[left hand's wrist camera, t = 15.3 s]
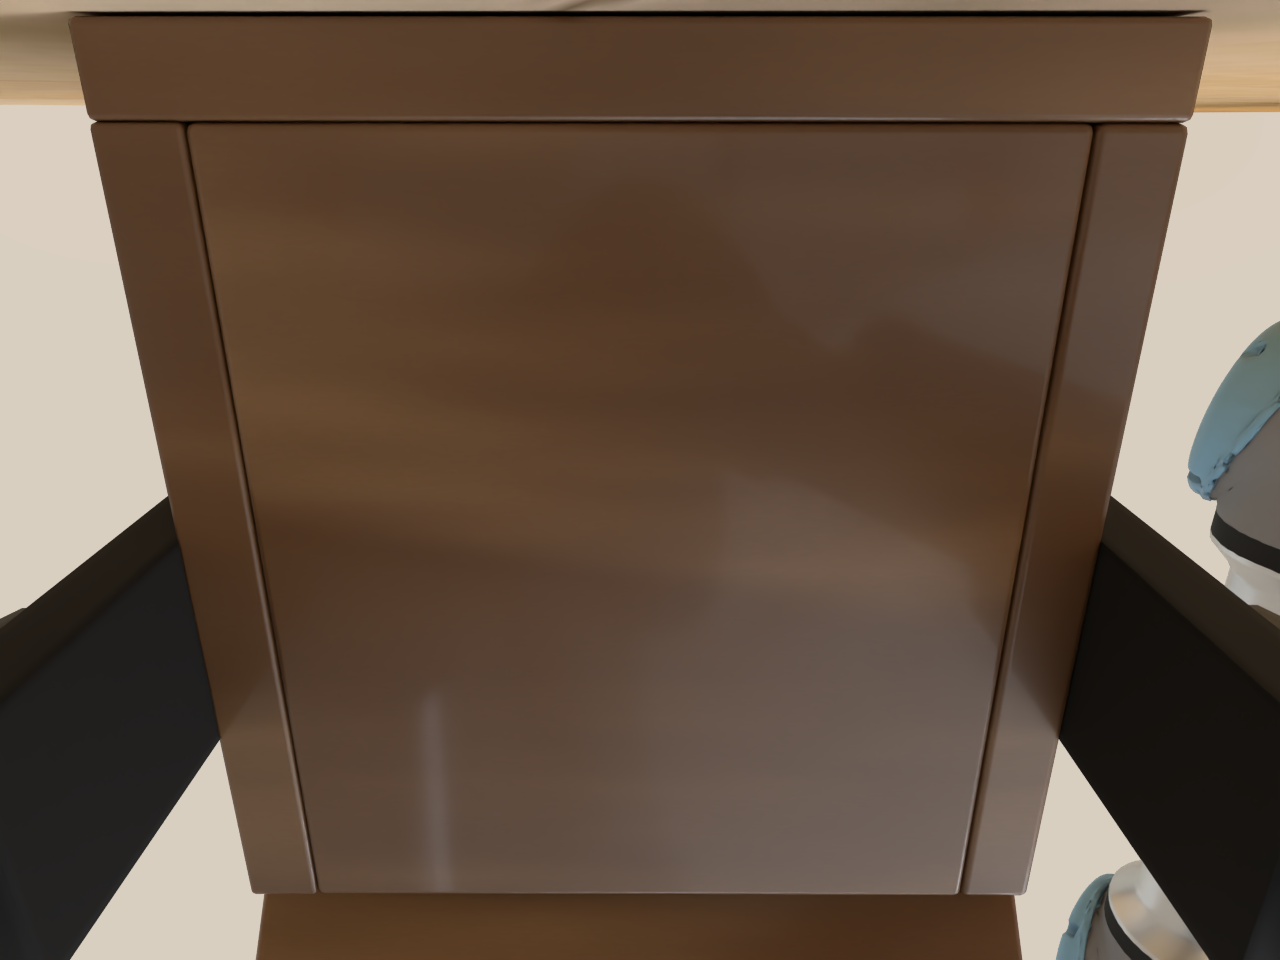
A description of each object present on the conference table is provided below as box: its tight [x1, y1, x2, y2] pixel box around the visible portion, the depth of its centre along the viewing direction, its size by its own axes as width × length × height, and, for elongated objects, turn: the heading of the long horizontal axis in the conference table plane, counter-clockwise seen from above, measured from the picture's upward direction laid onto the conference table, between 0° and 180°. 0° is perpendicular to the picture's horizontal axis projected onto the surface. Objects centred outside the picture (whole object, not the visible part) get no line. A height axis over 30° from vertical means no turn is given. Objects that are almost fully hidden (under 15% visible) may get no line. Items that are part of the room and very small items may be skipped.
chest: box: [69, 16, 1212, 895], centre depth 16 cm, size 14×10×10 cm
